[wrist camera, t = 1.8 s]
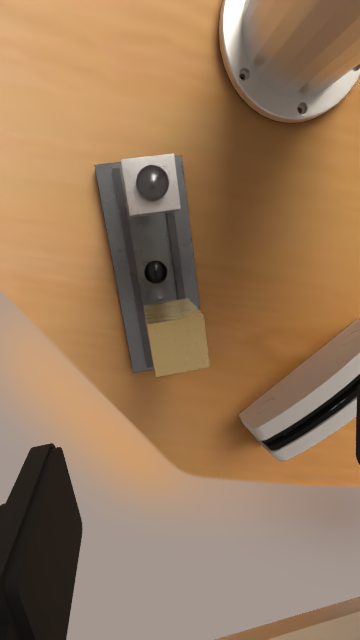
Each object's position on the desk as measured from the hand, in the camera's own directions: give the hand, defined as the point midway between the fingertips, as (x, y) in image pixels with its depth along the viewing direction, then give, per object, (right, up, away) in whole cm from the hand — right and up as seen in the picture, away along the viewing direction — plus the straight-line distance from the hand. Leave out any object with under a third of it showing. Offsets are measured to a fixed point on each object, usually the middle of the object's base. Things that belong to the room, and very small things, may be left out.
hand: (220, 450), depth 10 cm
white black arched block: (+12, -2, +25) cm, 28 cm away
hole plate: (-4, +8, +19) cm, 22 cm away
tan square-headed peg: (-3, +5, +19) cm, 20 cm away
